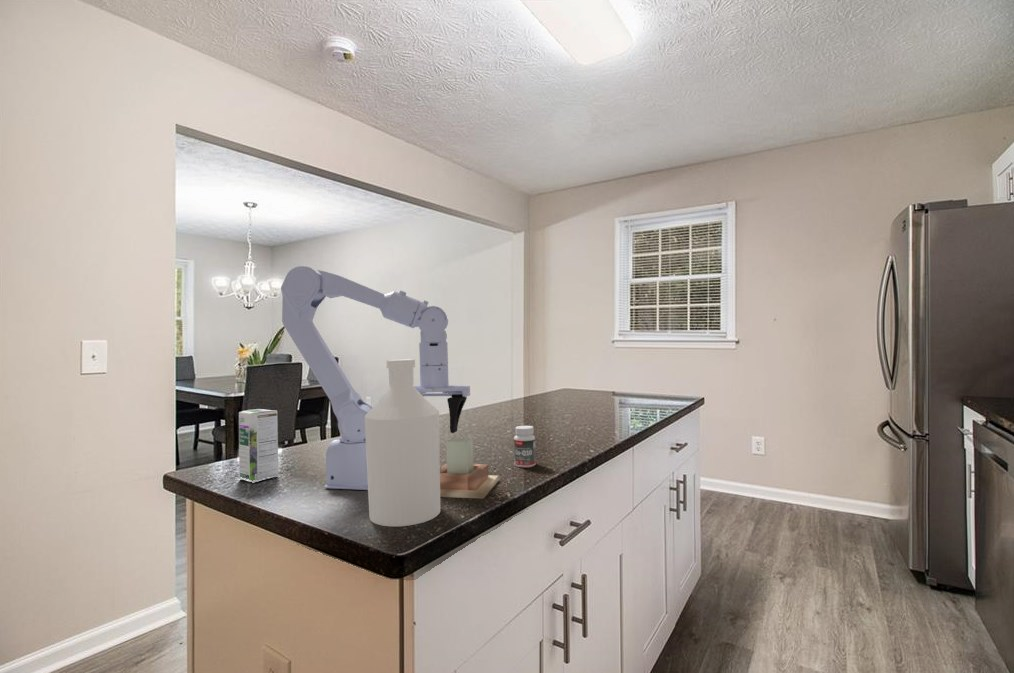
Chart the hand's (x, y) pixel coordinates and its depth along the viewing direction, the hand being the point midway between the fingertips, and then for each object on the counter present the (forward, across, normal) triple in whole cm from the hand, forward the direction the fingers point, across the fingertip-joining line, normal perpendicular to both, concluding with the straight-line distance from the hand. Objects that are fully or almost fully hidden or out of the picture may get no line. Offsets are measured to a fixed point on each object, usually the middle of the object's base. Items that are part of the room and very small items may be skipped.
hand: (435, 431), depth 100 cm
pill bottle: (+10, +16, +12) cm, 22 cm away
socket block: (+9, +7, -6) cm, 13 cm away
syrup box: (+10, -38, -5) cm, 40 cm away
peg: (+8, +7, -6) cm, 12 cm away
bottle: (+10, +2, -20) cm, 22 cm away
